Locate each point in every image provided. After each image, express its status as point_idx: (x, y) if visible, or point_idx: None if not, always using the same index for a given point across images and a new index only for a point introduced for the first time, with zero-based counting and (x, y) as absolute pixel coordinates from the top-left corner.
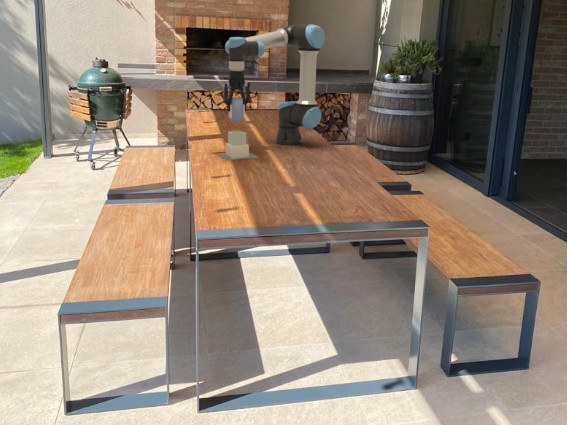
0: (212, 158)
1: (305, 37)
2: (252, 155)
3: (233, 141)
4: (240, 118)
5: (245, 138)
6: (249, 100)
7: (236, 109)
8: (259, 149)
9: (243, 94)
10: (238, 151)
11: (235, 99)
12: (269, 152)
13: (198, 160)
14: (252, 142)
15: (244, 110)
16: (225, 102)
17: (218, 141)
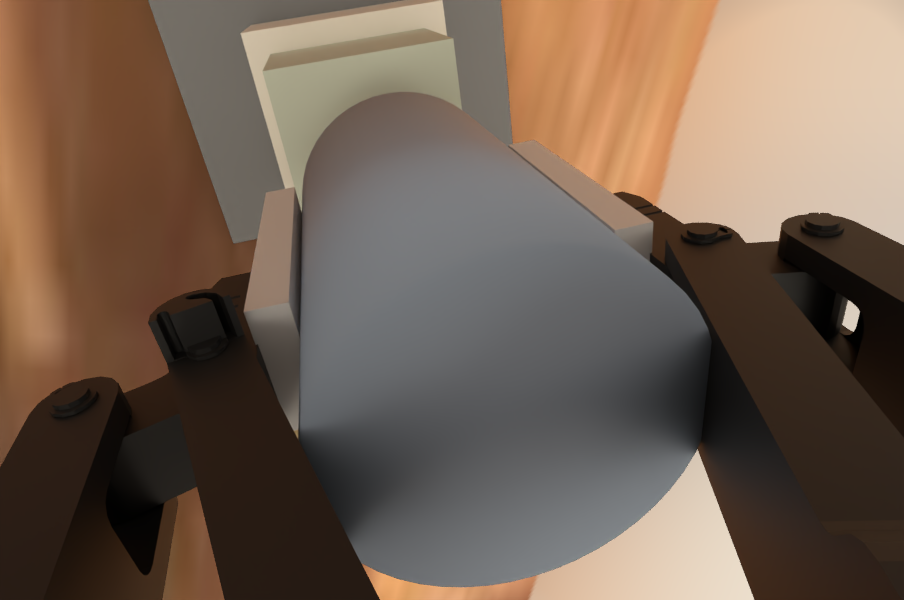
0: (550, 120)
1: None
2: (206, 92)
3: (429, 31)
4: (361, 111)
5: (275, 61)
6: (39, 431)
7: (484, 146)
8: (124, 379)
9: (264, 552)
10: (361, 10)
11: (620, 243)
12: (29, 267)
13: (665, 69)
14: (169, 573)
15: (261, 241)
16: (841, 223)
17: (392, 586)
